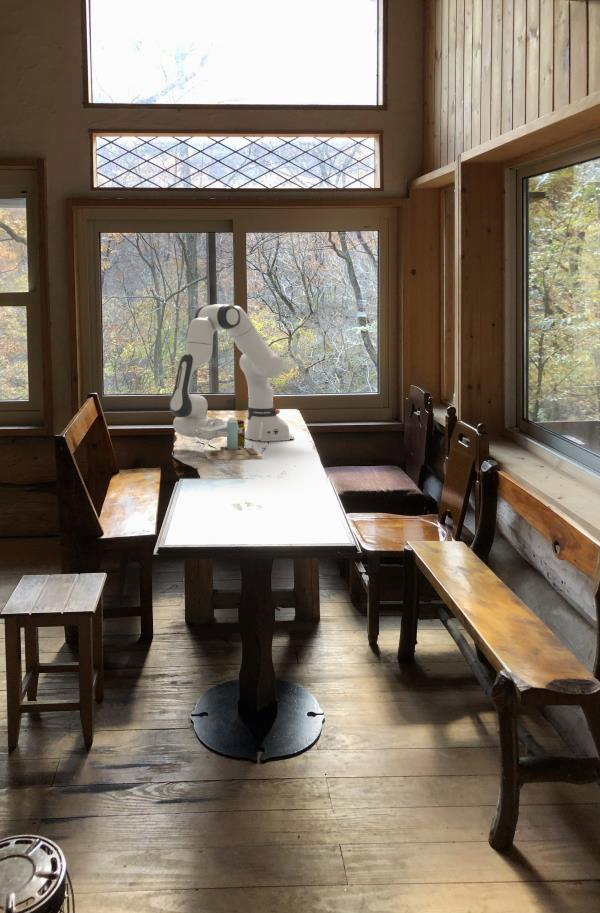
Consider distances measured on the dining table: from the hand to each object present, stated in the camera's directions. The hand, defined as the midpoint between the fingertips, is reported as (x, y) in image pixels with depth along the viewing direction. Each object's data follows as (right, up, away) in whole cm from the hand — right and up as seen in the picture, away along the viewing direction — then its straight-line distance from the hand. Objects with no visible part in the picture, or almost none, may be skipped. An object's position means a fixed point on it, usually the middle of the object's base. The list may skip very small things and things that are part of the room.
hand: (234, 433), depth 374 cm
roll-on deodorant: (-1, -8, +2) cm, 8 cm away
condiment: (-1, -6, +19) cm, 20 cm away
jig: (-1, -9, +2) cm, 10 cm away
